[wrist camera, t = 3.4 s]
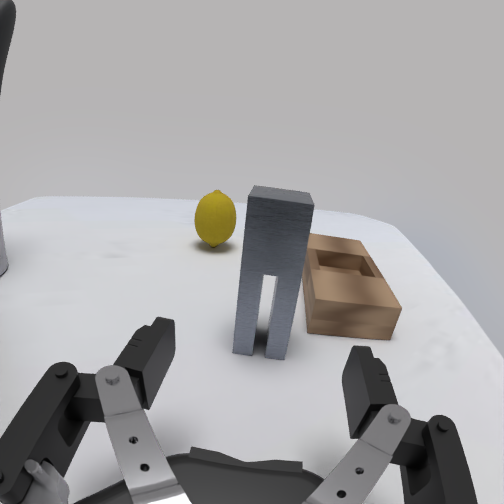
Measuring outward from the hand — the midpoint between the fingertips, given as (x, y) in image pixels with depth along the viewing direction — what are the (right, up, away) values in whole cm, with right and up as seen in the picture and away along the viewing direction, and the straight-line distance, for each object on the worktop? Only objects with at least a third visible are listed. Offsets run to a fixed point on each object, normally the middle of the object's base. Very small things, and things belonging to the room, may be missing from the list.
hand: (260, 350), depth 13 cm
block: (0, -3, +12) cm, 12 cm away
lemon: (-6, +5, +30) cm, 31 cm away
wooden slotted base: (+9, 0, +21) cm, 23 cm away
